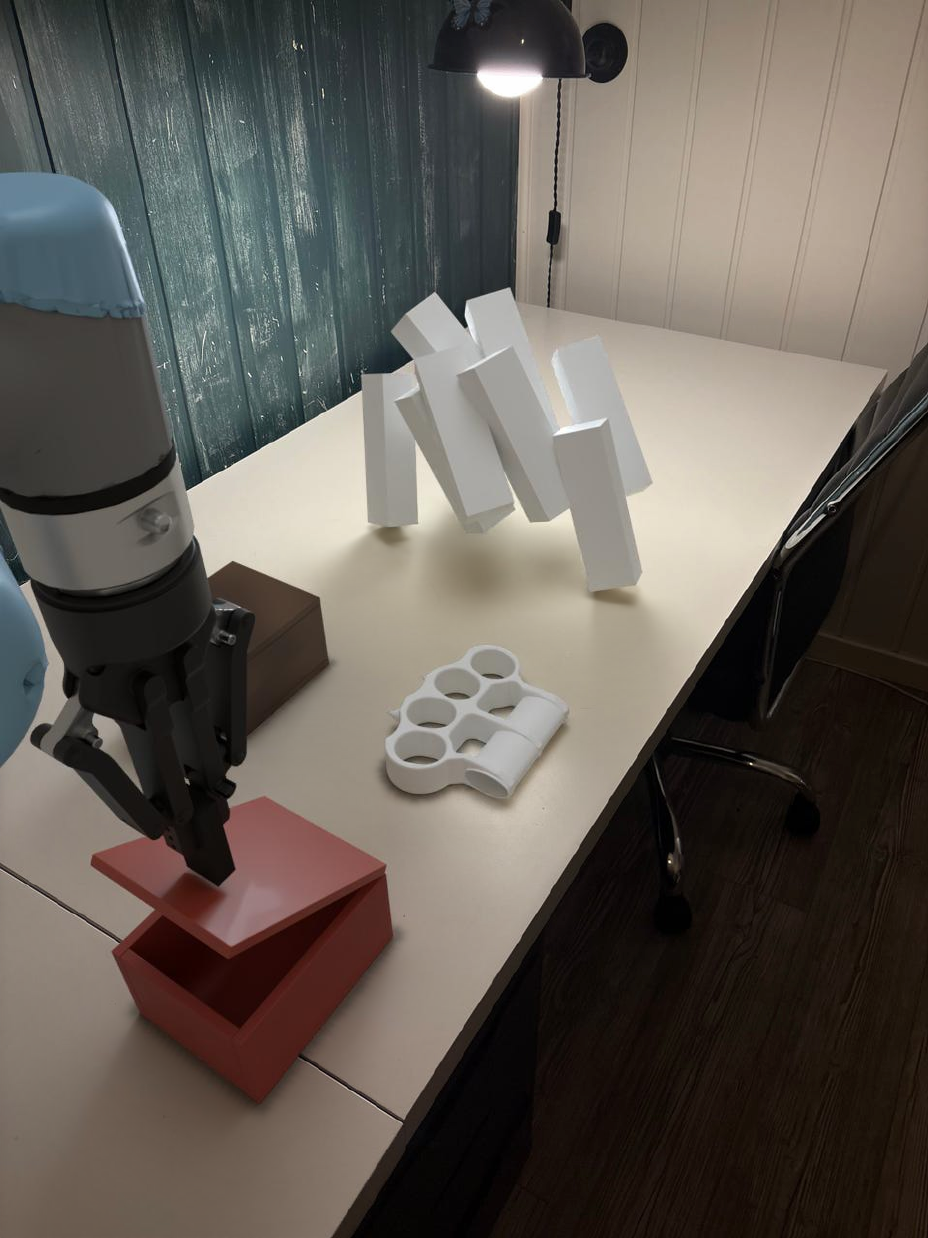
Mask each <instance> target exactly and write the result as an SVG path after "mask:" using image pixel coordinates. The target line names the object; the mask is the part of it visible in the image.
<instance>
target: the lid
mask: <svg viewBox="0 0 928 1238" xmlns="http://www.w3.org/2000/svg"><path fill="white" fill-rule="evenodd" d="M229 809H230V818H229V820H228V821H227V822H226V823H225V824H224V825H223V826H224V829H225V833H226V836H227V840H228V843H229V847H230V851H231V854H232V858H233V861H234V865H235V868H236V870H235V871H234V872H233V873H232V874H231V875H230V876H229V877H228V878H227V879H226V880H225V881H224V882H223V883H222V884H221V885H220V886H219V887H218V886H216V885H215V884H213V883H212V882H210V881H208V880H207V879H205V878H204V877H202V876H201V875H199V874H197V873H196V872H194V871H193V870H191V869H190V868H188V867H187V865H186V862H185V859H184V856H183V855H181V854H179V853H178V852H176V851H175V850H173V849H171V848H170V847H168V846H167V845H166V842H165V839H164V836H161V837H160V838H159V839H157V840H151V839H149V838H148V837H146V836H142V837H139V838H136V839H133V840H131V841H127V842H125V843H122V844H118V845H116V846H113V847H110V848H107V849H104V850H100V851H97V852H95V853H93V854H92V855H91V859H90V864H89V865H90V866H91V867H92V868H93V869H95V870H96V871H98V872H99V873H101V874H102V875H104V876H105V877H107V878H108V879H109V880H110V881H112V882H114V883H115V884H117V885H119V886H120V887H121V888H123V889H124V890H126V891H127V892H128V893H130V894H131V895H133V896H134V897H136V898H137V899H139V900H140V901H142V902H143V903H145V905H148V906H149V907H150V908H152V909H154V910H156V911H158V912H159V913H161V914H162V915H164V916H165V917H167V918H168V919H170V920H171V921H173V922H174V923H176V924H177V925H178V926H180V927H181V928H183V929H184V930H186V931H187V932H189V933H190V934H192V935H193V936H195V937H196V938H198V939H199V940H200V941H202V942H203V943H205V944H206V945H208V946H209V947H211V948H212V949H214V950H215V951H217V952H218V953H220V954H221V955H223V956H224V957H225V958H227V959H230V958H231V957H233V956H235V955H237V954H239V953H241V952H242V951H244V950H246V949H248V948H250V947H252V946H253V945H255V944H257V943H259V942H261V941H263V940H264V939H266V938H268V937H270V936H272V935H274V934H275V933H277V932H279V931H281V930H283V929H285V928H286V927H288V926H290V925H292V924H294V923H296V922H297V921H299V920H301V919H303V918H305V917H307V916H309V915H310V914H312V913H314V912H316V911H318V910H320V909H321V908H323V907H325V906H327V905H329V904H331V903H332V902H334V901H336V900H338V899H340V898H342V897H343V896H345V895H347V894H349V893H351V892H353V891H354V890H356V889H358V888H360V887H362V886H364V885H365V884H367V883H369V882H371V881H373V880H375V879H376V878H378V877H380V876H382V875H384V874H385V873H386V870H387V866H388V865H387V863H385V862H383V861H381V860H379V859H377V858H376V857H375V856H372V855H370V854H369V853H367V852H366V851H364V850H361V849H360V848H359V847H357V846H354V845H353V844H351V843H349V842H347V841H345V840H344V839H342V838H340V837H339V836H336V835H335V834H333V833H331V832H330V831H328V830H326V829H324V828H323V827H321V826H319V825H317V824H315V823H314V822H312V821H310V820H308V819H307V818H305V817H302V816H301V815H299V814H297V813H295V812H294V811H292V810H291V809H289V808H287V807H286V806H283V805H281V804H280V803H278V802H276V801H274V800H272V799H271V798H270V797H267V796H265V795H263V796H260V797H257V798H255V799H252V800H249V801H246V802H243V803H239V804H236V805H233V806H231V807H230V806H229Z"/></svg>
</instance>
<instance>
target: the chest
mask: <svg viewBox="0 0 928 1238" xmlns="http://www.w3.org/2000/svg"><path fill="white" fill-rule="evenodd" d="M387 879H388V878H387V874H386V872H385V874H384V875H382V876H380V877H378V878H376V879H375V880H373V881H371V882H369V883H367V884H365V885H364V886H362V887H360V888H358V889H356V890H354V891H353V892H351V893H349V894H347V895H345V896H343V897H342V898H340V899H338V900H336V901H334V902H332V903H331V904H329V905H327V906H325V907H323V908H321V909H320V910H318V911H316V912H314V913H312V914H310V915H309V916H307V917H305V918H303V919H301V920H299V921H297V922H296V923H294V924H292V925H290V926H288V927H286V928H285V929H283V930H281V931H279V932H277V933H275V934H274V935H272V936H270V937H268V938H266V939H264V940H263V941H261V942H259V943H257V944H255V945H253V946H252V947H250V948H248V949H246V950H244V951H242V952H241V953H239V954H237V955H235V956H233V957H231V958H230V959H227V958H225V957H224V956H223V955H221V954H220V953H218V952H217V951H215V950H214V949H212V948H211V947H209V946H208V945H206V944H205V943H203V942H202V941H200V940H199V939H198V938H196V937H195V936H193V935H192V934H190V933H189V932H187V931H186V930H184V929H183V928H181V927H180V926H178V925H177V924H176V923H174V922H173V921H171V920H170V919H168V918H167V917H165V916H164V915H162V914H161V913H159V912H158V911H156V910H155V909H154V910H152V912H150V913H149V915H148V916H147V917H145V918H144V919H143V920H142V921H141V922H140V923H139V924H138V925H137V926H136V927H134V929H133V930H132V931H131V932H130V933H128V935H127V936H125V938H124V939H123V940H122V941H120V942H119V943H118V944H117V945H116V946H115V947H114V948H113V949H112V950H111V951H110V952H111V954H112V956H113V958H114V961H115V963H116V965H117V967H118V970H119V972H120V974H121V976H122V978H123V980H124V982H125V985H126V987H127V989H128V991H129V993H130V995H131V997H132V999H133V1001H134V1004H135V1006H136V1008H137V1010H138V1012H139V1013H140V1014H141V1015H142V1016H144V1017H145V1018H146V1019H147V1020H149V1021H150V1022H152V1023H153V1024H154V1025H155V1026H157V1027H158V1028H160V1030H162V1031H163V1032H165V1033H166V1034H167V1035H169V1037H171V1038H172V1039H174V1040H175V1041H176V1042H178V1043H179V1044H181V1045H182V1046H183V1047H184V1048H186V1049H187V1050H188V1051H190V1052H191V1053H193V1054H194V1055H195V1056H196V1057H197V1058H199V1059H200V1060H201V1061H203V1062H204V1063H205V1064H207V1065H208V1066H209V1067H210V1068H212V1069H213V1070H215V1071H216V1072H217V1073H218V1074H220V1075H221V1076H223V1077H224V1078H225V1079H226V1080H228V1081H230V1083H231V1084H233V1085H235V1086H236V1087H237V1088H238V1089H239V1090H241V1091H243V1092H244V1094H246V1095H247V1096H249V1097H250V1098H252V1099H253V1100H254V1101H255V1102H257V1103H258V1104H262V1102H263V1101H264V1100H265V1098H266V1097H267V1096H268V1095H269V1093H271V1091H272V1090H273V1088H275V1086H276V1084H277V1083H278V1082H279V1081H280V1079H281V1078H282V1077H283V1076H284V1074H286V1072H287V1071H288V1070H289V1068H290V1067H291V1066H292V1065H293V1064H294V1062H295V1061H296V1059H297V1058H298V1057H299V1056H300V1055H301V1053H302V1052H303V1050H304V1049H305V1048H306V1047H307V1045H308V1044H310V1041H311V1040H312V1039H313V1038H314V1037H315V1035H316V1034H317V1033H318V1031H319V1030H320V1029H321V1028H322V1026H323V1025H324V1024H325V1023H326V1021H327V1020H328V1019H329V1018H330V1017H331V1015H332V1014H333V1013H334V1011H335V1010H336V1009H337V1008H338V1006H339V1005H340V1004H341V1003H342V1001H343V1000H344V999H345V997H346V996H347V995H348V994H349V993H350V991H351V990H352V989H353V987H354V986H355V985H356V984H357V983H358V981H359V980H360V979H361V978H362V976H363V975H364V973H365V972H366V971H367V969H368V968H369V967H370V966H371V965H372V963H373V962H374V961H375V960H376V958H377V957H378V955H379V954H380V953H381V952H382V951H383V949H384V948H385V947H386V946H387V945H388V944H389V942H390V941H391V939H392V938H393V937H394V934H393V933H394V931H393V923H392V913H391V905H390V897H389V887H388V880H387Z"/></svg>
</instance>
